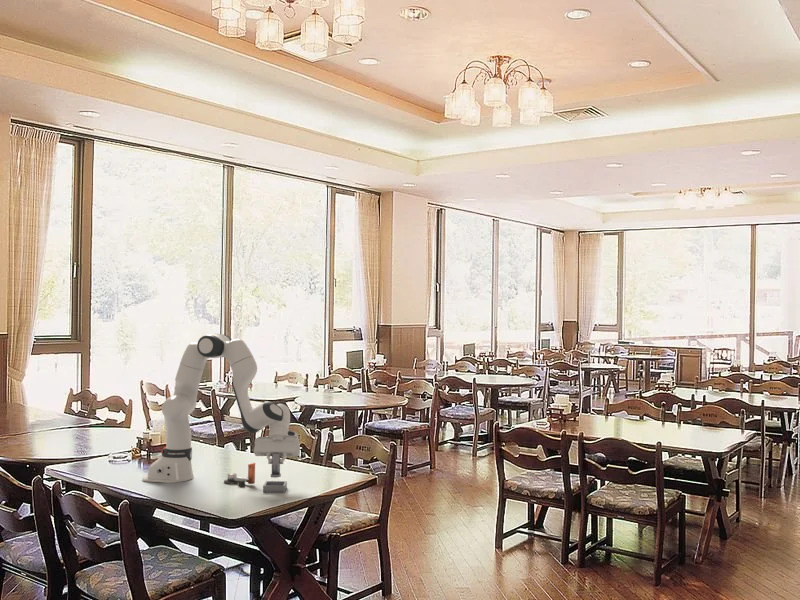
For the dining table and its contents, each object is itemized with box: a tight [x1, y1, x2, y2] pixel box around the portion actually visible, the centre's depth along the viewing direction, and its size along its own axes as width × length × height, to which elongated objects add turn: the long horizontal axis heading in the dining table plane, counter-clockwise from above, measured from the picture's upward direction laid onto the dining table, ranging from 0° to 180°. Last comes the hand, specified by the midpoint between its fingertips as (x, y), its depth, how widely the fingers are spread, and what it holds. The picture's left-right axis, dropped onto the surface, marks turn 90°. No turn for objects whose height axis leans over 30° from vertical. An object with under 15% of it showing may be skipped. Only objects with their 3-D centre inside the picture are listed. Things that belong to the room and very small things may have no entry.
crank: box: [226, 462, 256, 485], centre depth 342 cm, size 14×4×9 cm, turn 63°
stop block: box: [238, 480, 246, 488], centre depth 338 cm, size 2×2×2 cm
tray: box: [262, 480, 288, 494], centre depth 332 cm, size 9×9×3 cm
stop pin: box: [270, 453, 282, 478], centre depth 332 cm, size 4×4×10 cm
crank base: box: [223, 479, 239, 485], centre depth 345 cm, size 7×7×1 cm
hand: (275, 463), depth 332 cm, fingers closed on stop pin, 4 cm apart
